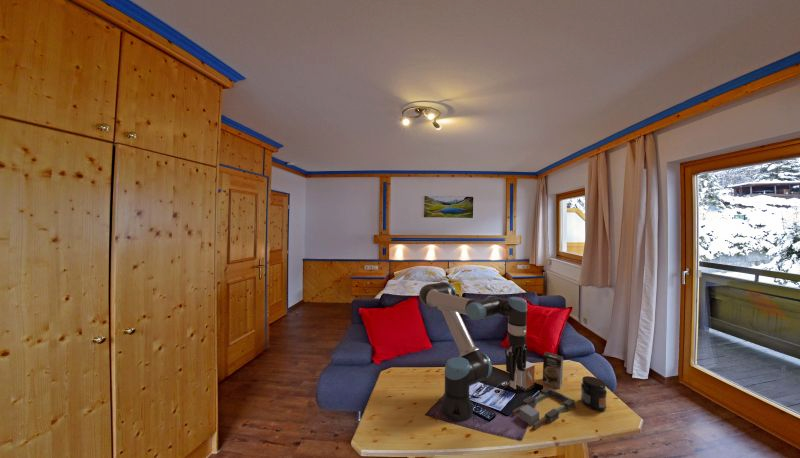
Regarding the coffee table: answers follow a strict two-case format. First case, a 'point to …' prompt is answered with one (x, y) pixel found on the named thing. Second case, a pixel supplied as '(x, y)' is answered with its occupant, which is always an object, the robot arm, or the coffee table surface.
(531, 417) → the slate block
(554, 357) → the coffee box
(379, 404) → the coffee table surface
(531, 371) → the small box
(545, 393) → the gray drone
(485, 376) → the robot arm
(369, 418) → the coffee table surface
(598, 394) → the supplement container
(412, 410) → the coffee table surface
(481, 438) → the coffee table surface
